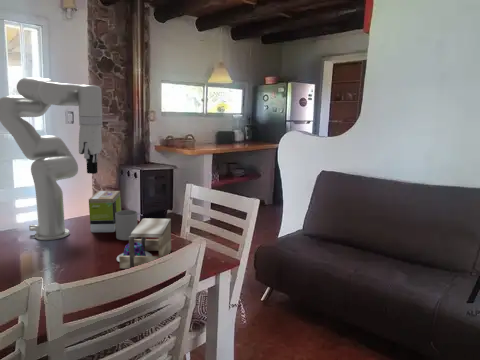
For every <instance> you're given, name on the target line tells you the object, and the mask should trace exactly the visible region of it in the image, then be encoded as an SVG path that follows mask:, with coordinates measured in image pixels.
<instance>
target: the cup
mask: <svg viewBox="0 0 480 360" xmlns="http://www.w3.org/2000/svg"><path fill="white" fill-rule="evenodd" d="M115 219H116V230H115V238H116V239H117V240H120V241H129V236H131V233H132V231H133V230H134V229H135V228H136V227H137V225H138V224H139V223H138V211H136V210H132V209H125V210H124V209H123V210H121V211H118V212H116V213H115ZM134 239H138V237H134Z"/></svg>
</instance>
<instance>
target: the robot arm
mask: <svg viewBox="0 0 480 360" xmlns="http://www.w3.org/2000/svg"><path fill="white" fill-rule="evenodd" d="M16 90H17V93H18V95H5V96H2V97H0V123H1V125H2V126H3V127H4V128H5V130H7V132H8V133H9V135H11V136H12V138H13V140H14V141H15V142H16V144H17V146H18V147H19V149H20V150H21V151H22V153H23V155H24V157H26V158H27V159H28V160H30V161H33V162H32V164H31V166H30V172H31V173H30V174H31V176H32V180H33V184H34V189H35V190H34V191H35V200H36V209H37V210H36V211H37V212H36V213H37V222H38V223H37V224H29V228H28V229H29V232H33V231H34V232H35V234H34V238H35V239H37V240H41V241H53V240H59V239H63V238H65V237H67V236H69V235H70V230H69V229H68V228H66V226H65V224H66V223H65V221H66V220H65V208H64V192H63V190H62V187H61V186H60V185H59V184H58V182H57V181H62V180H68V179H72V178H74V177H76V176H77V174H78V172H79V165H78V162H77V160H76V158H75V157H74V155H73V153H72V151H70V149H69V148H68V146H67V145H66V143H65V142H64V141H63V140H62V138H60V137H58V136H57V135H40V134H39V133H38V131H37V130H36V128H35V127H34V126H33V125H32V124H31V123H30V122H28V121H27V120H26V119H23V118H38V117H42V116H43V115H45V113H46V112H47V111H48V110H49V109H50V107H51V106H60V107H61V106H62V107H63V106H65V107H68V106H69V107H70V106H71V107H72V106H73V107H78V122H79V123H78V125H79V130H78V131H79V133H78V154H79V155H83V158H84V160H85V162H86V173H87V174H92V175H95V174H97V173H98V171H99V170H98V161H99V160H98V157H99V154H100V153H101V152H102V149H103V140H102V138H103V137H102V136H103V135H102V129H101V128H102V127H103V106H102V105H103V103H102V102H103V101H102V99H103V98H102V97H103V96H102V94H103V93H102V88H101V87H100V86H98V85H91V84H90V85H89V84H76V83H75V84H74V83H64V82H63V83H62V82H56V81H54V80H53V79H51V78H46V77H45V78H43V77H34V76H33V77H31V76H29V77H28V76H27V77H23V78H21V79H20V80H19V81H17V84H16Z"/></svg>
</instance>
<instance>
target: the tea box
mask: <svg viewBox="0 0 480 360" xmlns="http://www.w3.org/2000/svg"><path fill="white" fill-rule="evenodd" d="M121 201H122V200H121V190H98V191H97V192H95V193H94V194H93V195H92V196H91V197H89V198H88V210H89V211H88V212H89V223H90V232H91V233H114V232H115V233H116V219H115V213H116V212H118V211H122V202H121Z"/></svg>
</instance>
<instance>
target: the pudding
mask: <svg viewBox="0 0 480 360" xmlns="http://www.w3.org/2000/svg"><path fill="white" fill-rule="evenodd" d="M134 252H135V256H153V254H152V253H150V252H149V251H144V247H143V245H142V244H141V243H138V242H136V243H134ZM119 256H129V243H127V244H126V245H125V247H124V250H123V252H122V253H120V254H119V255H117V257H116V261H117V262H119ZM119 263H120V262H119Z"/></svg>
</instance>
